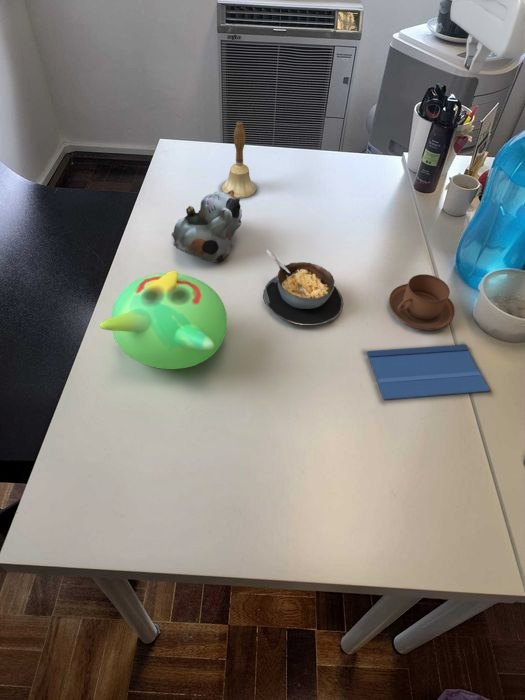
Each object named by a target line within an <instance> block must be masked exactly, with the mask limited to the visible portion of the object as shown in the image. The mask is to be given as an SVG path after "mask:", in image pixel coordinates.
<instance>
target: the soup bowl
mask: <svg viewBox="0 0 525 700" xmlns="http://www.w3.org/2000/svg"><path fill="white" fill-rule="evenodd" d="M266 254H267V255H269V257H271V258H272V259H273V260H274V262H275V263H276V264H277V265H278V267H279V270H278V272H277V275H276V276H275V277H272V278H271V279H270V280H269V281H268V283H266V285H265V288H264V289H263V294H262V298H263V301H264V303H265V305H266V306H267V307H268V309H269V310H270V311H271V312H272V313H274V314H275V315H277V316H278V317H279V318H281V319H283V320H284V321H287V322H289V323H293V324H294V325H295V324H296V325H301V326H314V325H321V324H325V323H328V322H333V321H335V319H337V318H338V317H339V315H340V314H341V312H342V311H343V308H344V299H343V296H342V294H341V292H340V291H339V289H338V288H337V286H335V285H336V283H335V282H336V280H335V279H334V276H333V274H332V273H331V272H330V270H329V271H328V270H327V269H325V268H324V267H323V266H320V265H319V264H315V263H311V262H304V261H300V262H290V263H288V264H284V263H283V262H282V261H281V259H280V258H279V257H278V256H277V255H276V254H275V253H274V252H273V251H271V250H270V249H266Z"/></svg>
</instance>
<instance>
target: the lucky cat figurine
mask: <svg viewBox="0 0 525 700" xmlns="http://www.w3.org/2000/svg"><path fill="white" fill-rule="evenodd" d="M240 201H241V198H234V191H233V190H231V191H229V192H228V193H225V192H223V191H214V192H212V193H209V194H207V195H206V196H204V197H203V198H202V199H201V201H200V206H199V207H200V208H199V210H198V212H196V210H195V208H194V206H191V205H189V206H187V208H185V210H186V216H185V217H182V218H179V220H177V222H176V223H175V225H174V228H173V231H172V232H171V234H170V235H171V237H172V238H173V240H174V243H173V246H174V247H175V248H176V249H177V250H179V251H181V252H184V253H185V254H188V255H191V256H195V257H198V258H200V259H202V260H203V261H207V262H211V263H217V262H222V261H225V260H226V259H227V258H228V257H229V253H230V251H231V246H232V239H233V236H234V235H235V233H236V232H237V230H238V229H239V228H240V227H241V225H242V220H241V219H242V217H243V210H242V208H241V207H242V206H241V204H240Z"/></svg>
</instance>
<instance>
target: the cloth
mask: <svg viewBox="0 0 525 700" xmlns="http://www.w3.org/2000/svg"><path fill="white" fill-rule="evenodd" d="M469 350H470V349H469V347H468V345H467V344H451V345H437V346H424V347H423V346H421V347H410V348H407V347H406V348H395V349H394V348H393V349H379V350H368V351H366V355H367V357H368V360H369V363H370V366H371V368H372V372H373V374H374V377H375V380H376V382H377V385H378V388H379V391H380V394H381V397H382V399H383V401H391V400H403V399H414V398H415V399H416V398H417V399H418V398H428V397H429V398H430V397H440V396H441V397H442V396H454V395H462V394H463V395H465V394H476V393H478V394H479V393H488V392H490V391H491V390H490V388H489V387H488V385H487V382H486V381H485V379H484V377H483V375H482V372H481V371H480V370H479V367H478V366H477V364H476V362H475V360H474V359H473V357H472V355H471V353H470V351H469Z"/></svg>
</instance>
